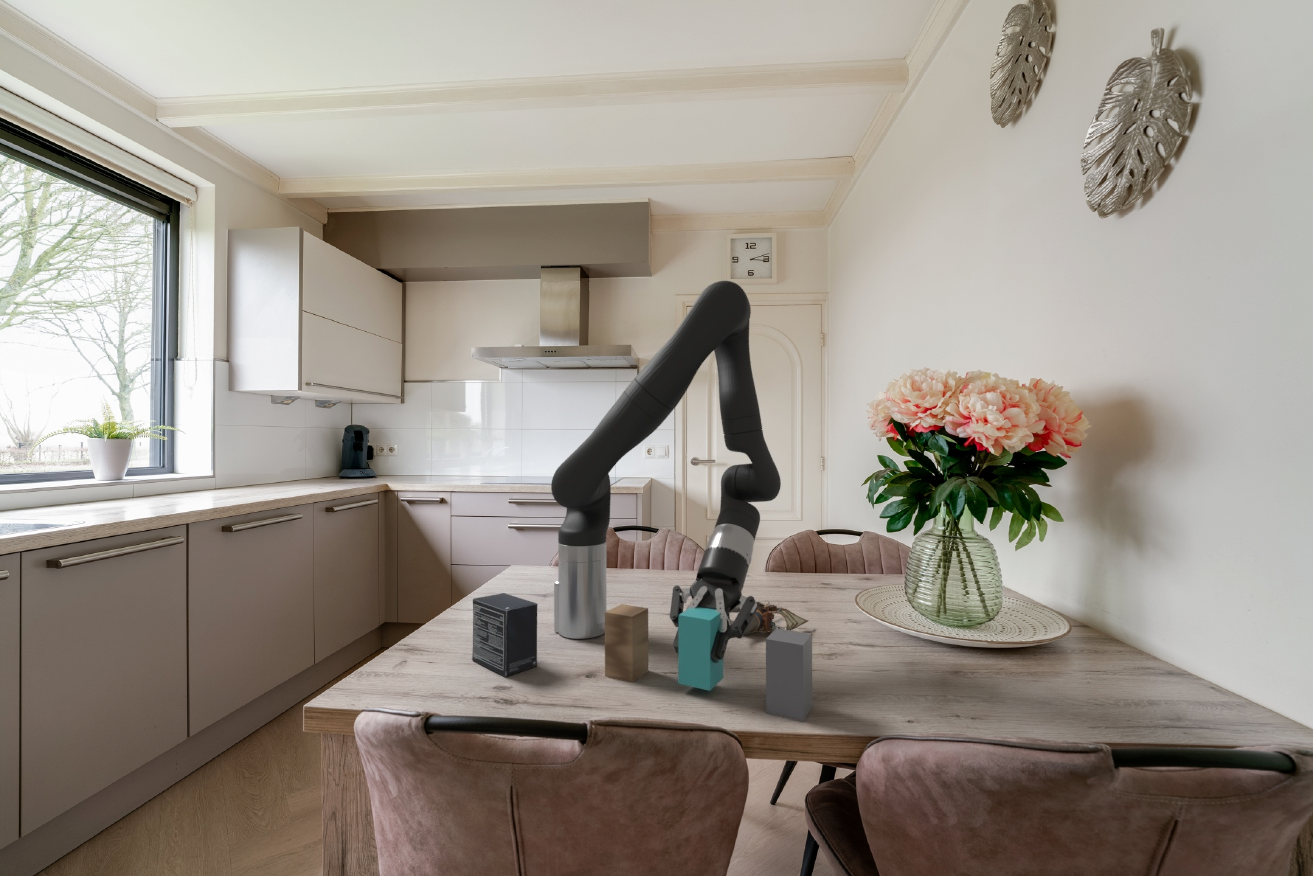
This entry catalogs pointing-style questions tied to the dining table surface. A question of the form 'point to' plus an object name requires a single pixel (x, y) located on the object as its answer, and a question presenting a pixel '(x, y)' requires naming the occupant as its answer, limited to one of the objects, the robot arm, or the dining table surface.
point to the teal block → (698, 648)
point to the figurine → (770, 618)
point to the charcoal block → (789, 674)
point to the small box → (504, 633)
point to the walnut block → (626, 642)
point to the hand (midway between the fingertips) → (696, 656)
